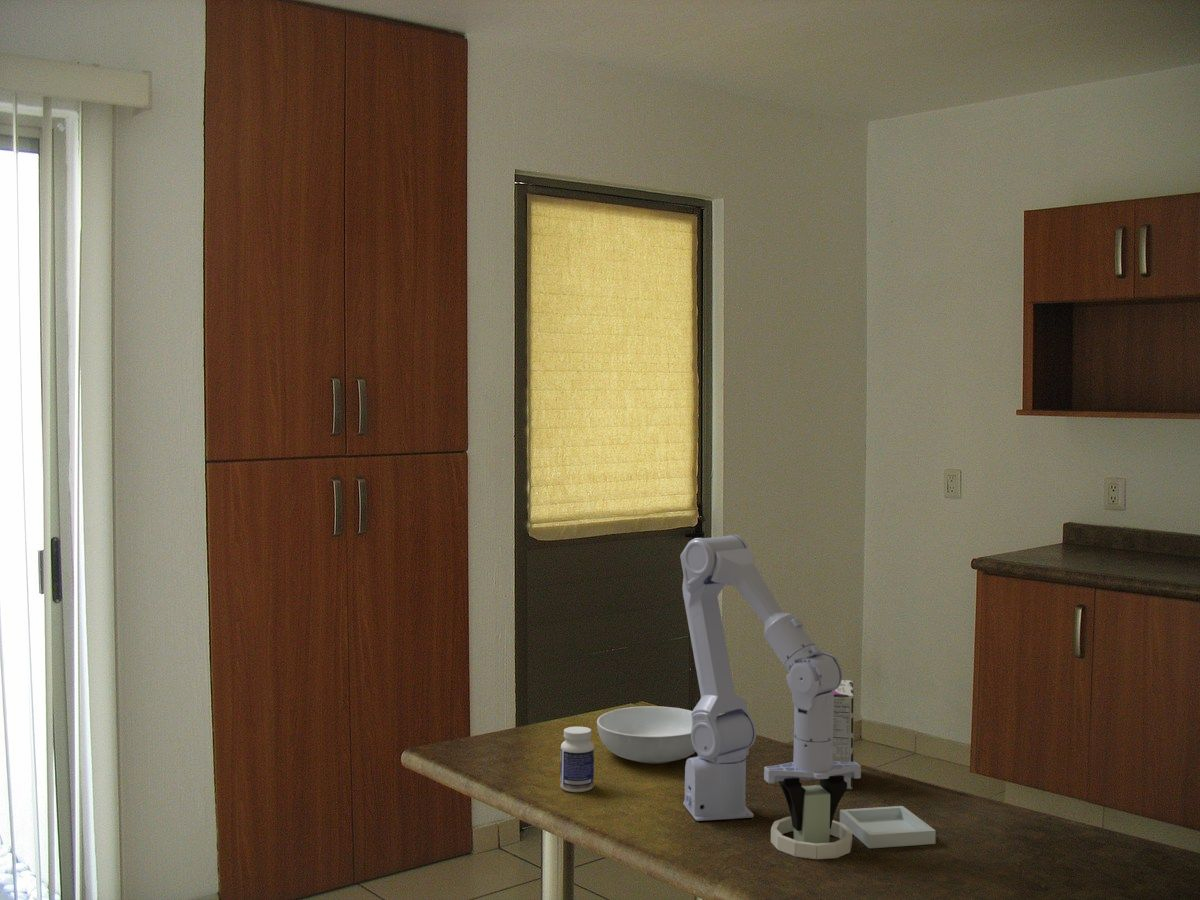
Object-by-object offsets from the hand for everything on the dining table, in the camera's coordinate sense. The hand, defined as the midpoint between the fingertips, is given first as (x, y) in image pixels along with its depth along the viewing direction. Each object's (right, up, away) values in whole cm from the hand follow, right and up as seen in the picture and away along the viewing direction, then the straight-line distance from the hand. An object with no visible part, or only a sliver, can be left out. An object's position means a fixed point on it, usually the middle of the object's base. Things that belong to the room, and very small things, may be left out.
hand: (811, 827), depth 166 cm
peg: (0, -2, 0) cm, 2 cm away
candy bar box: (+10, -2, +30) cm, 31 cm away
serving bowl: (-22, -1, +42) cm, 47 cm away
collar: (0, -2, 0) cm, 2 cm away
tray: (+12, -2, +5) cm, 13 cm away
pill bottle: (-35, -1, +23) cm, 43 cm away
